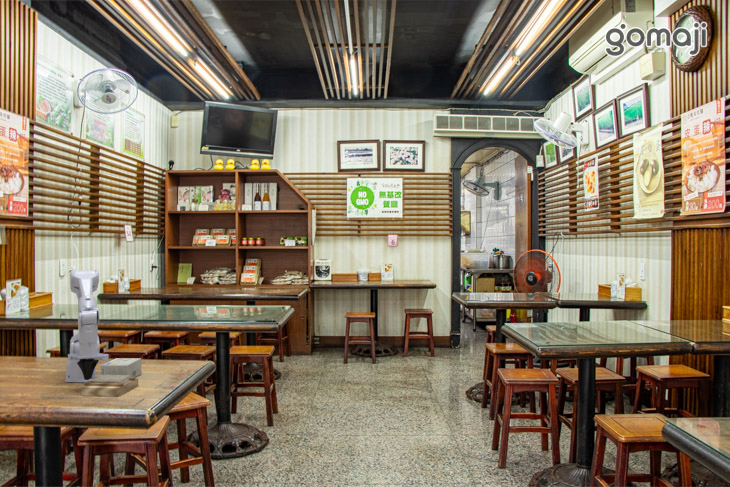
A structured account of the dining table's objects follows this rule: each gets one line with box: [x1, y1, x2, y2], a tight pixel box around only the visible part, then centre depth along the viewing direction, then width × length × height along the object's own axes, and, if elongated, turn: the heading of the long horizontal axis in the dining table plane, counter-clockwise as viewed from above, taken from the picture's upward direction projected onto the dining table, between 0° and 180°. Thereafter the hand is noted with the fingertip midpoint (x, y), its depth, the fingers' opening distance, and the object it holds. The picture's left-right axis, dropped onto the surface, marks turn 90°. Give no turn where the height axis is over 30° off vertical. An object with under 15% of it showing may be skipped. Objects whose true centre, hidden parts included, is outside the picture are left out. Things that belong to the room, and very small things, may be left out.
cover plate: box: [89, 374, 130, 384], centre depth 160 cm, size 12×5×2 cm, turn 86°
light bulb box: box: [100, 357, 142, 378], centre depth 176 cm, size 11×7×11 cm
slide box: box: [80, 376, 139, 398], centre depth 160 cm, size 14×12×4 cm
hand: (88, 379), depth 161 cm, fingers closed
